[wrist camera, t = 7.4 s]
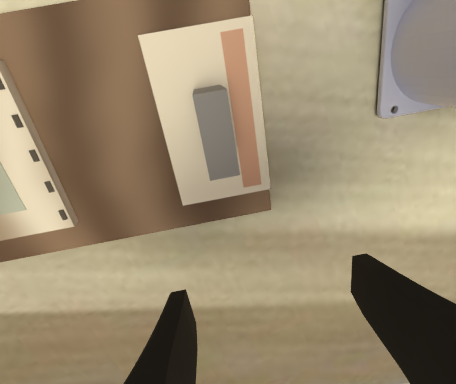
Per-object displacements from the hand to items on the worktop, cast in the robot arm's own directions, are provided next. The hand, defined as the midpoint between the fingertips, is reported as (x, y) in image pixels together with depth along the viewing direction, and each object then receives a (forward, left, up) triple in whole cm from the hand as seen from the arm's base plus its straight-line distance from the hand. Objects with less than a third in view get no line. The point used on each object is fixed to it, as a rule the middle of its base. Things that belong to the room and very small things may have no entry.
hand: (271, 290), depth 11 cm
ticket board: (+9, -6, -9) cm, 14 cm away
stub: (+1, -6, -8) cm, 10 cm away
